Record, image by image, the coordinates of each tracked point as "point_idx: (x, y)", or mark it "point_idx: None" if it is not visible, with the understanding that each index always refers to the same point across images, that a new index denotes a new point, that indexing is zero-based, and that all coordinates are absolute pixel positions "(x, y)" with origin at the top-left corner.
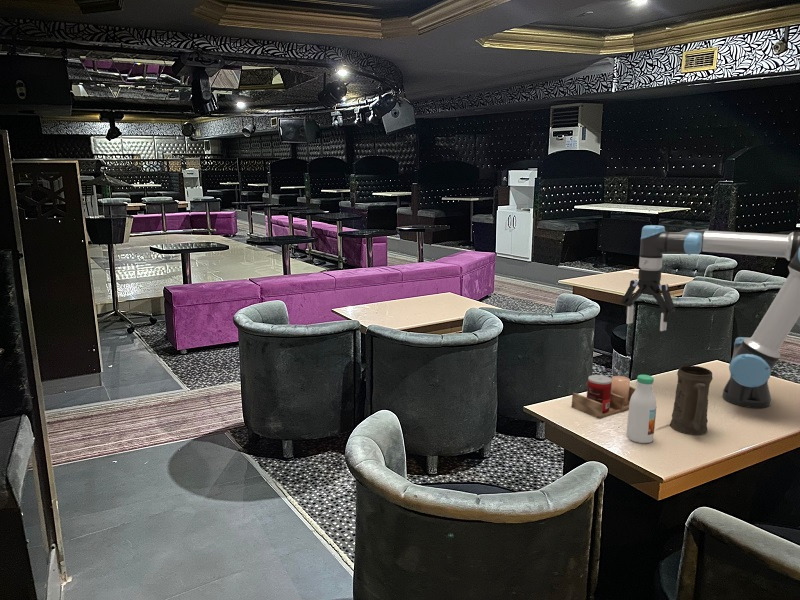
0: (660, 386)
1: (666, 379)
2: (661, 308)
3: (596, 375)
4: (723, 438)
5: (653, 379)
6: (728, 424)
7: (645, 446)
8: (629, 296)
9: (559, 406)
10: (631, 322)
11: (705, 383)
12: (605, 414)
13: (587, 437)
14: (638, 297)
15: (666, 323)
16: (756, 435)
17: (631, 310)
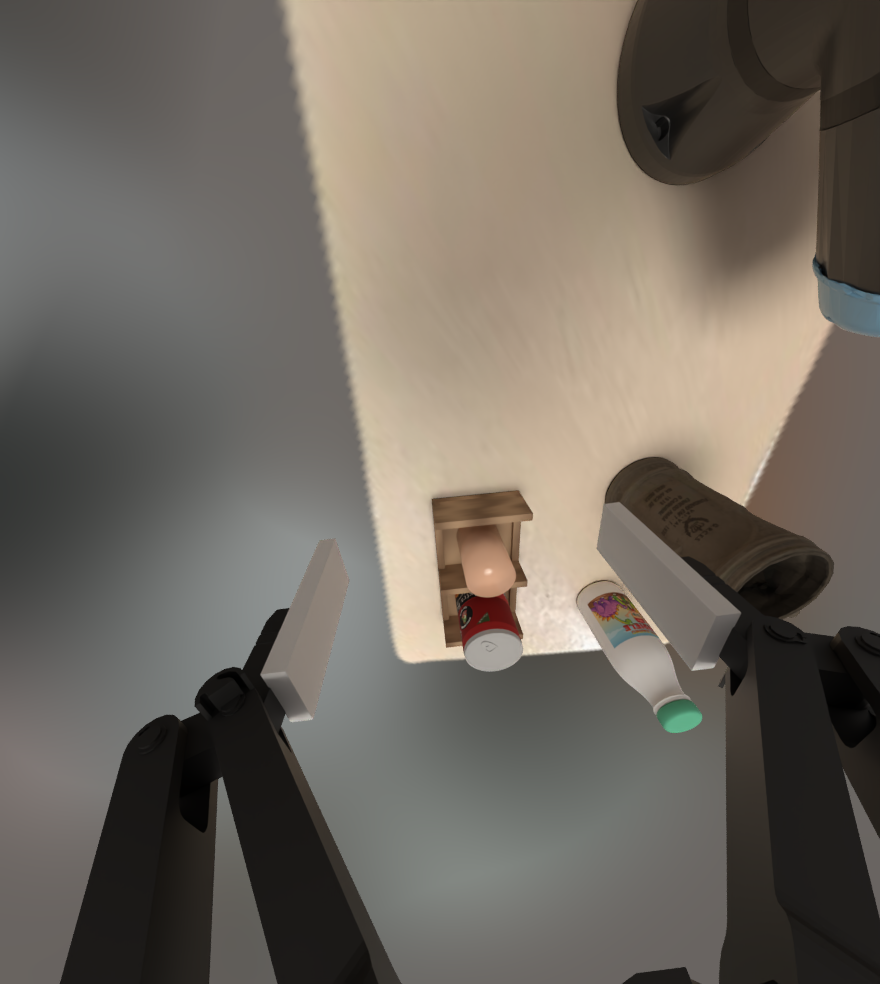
0: (422, 285)
1: (366, 160)
2: (726, 717)
3: (470, 646)
4: (714, 470)
5: (701, 714)
6: (705, 386)
7: None
8: (183, 867)
9: (419, 624)
10: (338, 554)
11: (789, 578)
12: (514, 603)
13: (541, 651)
14: (320, 837)
15: (651, 535)
16: (775, 386)
17: (313, 650)
